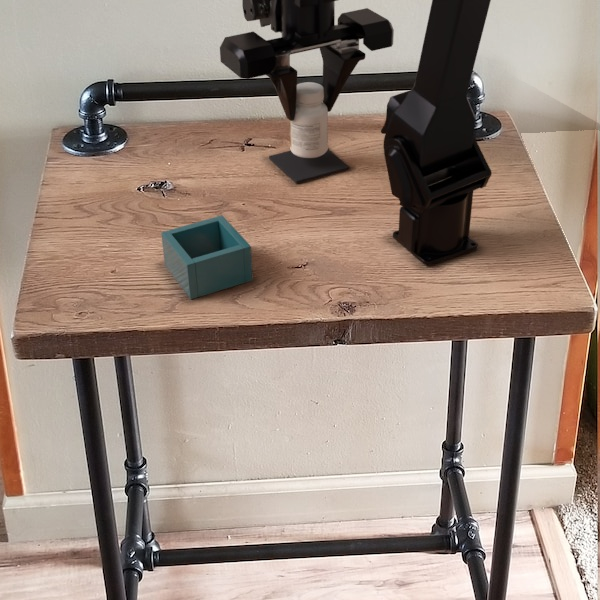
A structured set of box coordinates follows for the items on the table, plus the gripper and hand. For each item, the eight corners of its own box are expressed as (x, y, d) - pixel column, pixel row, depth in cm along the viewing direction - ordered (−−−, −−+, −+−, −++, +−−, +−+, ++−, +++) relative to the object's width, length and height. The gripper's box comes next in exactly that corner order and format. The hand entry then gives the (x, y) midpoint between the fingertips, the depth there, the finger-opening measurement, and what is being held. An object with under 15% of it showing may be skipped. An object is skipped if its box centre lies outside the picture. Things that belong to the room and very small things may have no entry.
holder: (224, 248, 101) (222, 214, 98) (252, 280, 96) (251, 246, 94) (164, 266, 98) (160, 232, 96) (190, 299, 94) (187, 265, 91)
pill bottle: (303, 138, 117) (302, 77, 112) (335, 147, 115) (335, 85, 110) (282, 153, 114) (280, 90, 109) (314, 162, 112) (313, 99, 107)
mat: (320, 145, 119) (320, 142, 119) (349, 169, 114) (349, 166, 114) (268, 159, 116) (268, 156, 116) (296, 184, 111) (296, 181, 111)
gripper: (345, -56, 112) (344, 74, 121) (194, -30, 105) (205, 106, 114) (399, -30, 104) (393, 107, 113) (238, 0, 97) (246, 144, 106)
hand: (309, 114), depth 112 cm, fingers closed on pill bottle, 4 cm apart
